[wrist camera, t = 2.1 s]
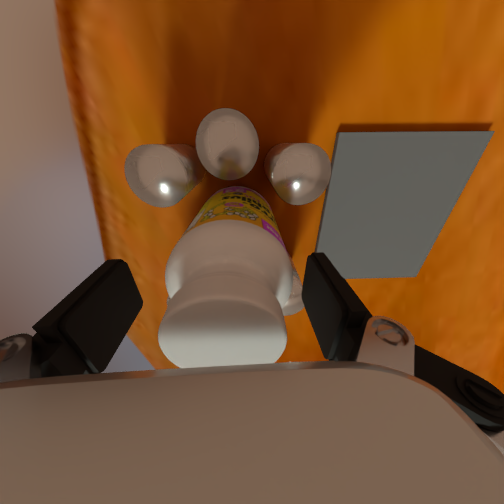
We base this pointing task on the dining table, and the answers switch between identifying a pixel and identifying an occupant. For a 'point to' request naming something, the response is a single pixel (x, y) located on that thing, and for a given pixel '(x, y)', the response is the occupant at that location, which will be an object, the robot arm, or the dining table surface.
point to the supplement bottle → (227, 285)
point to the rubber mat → (393, 198)
